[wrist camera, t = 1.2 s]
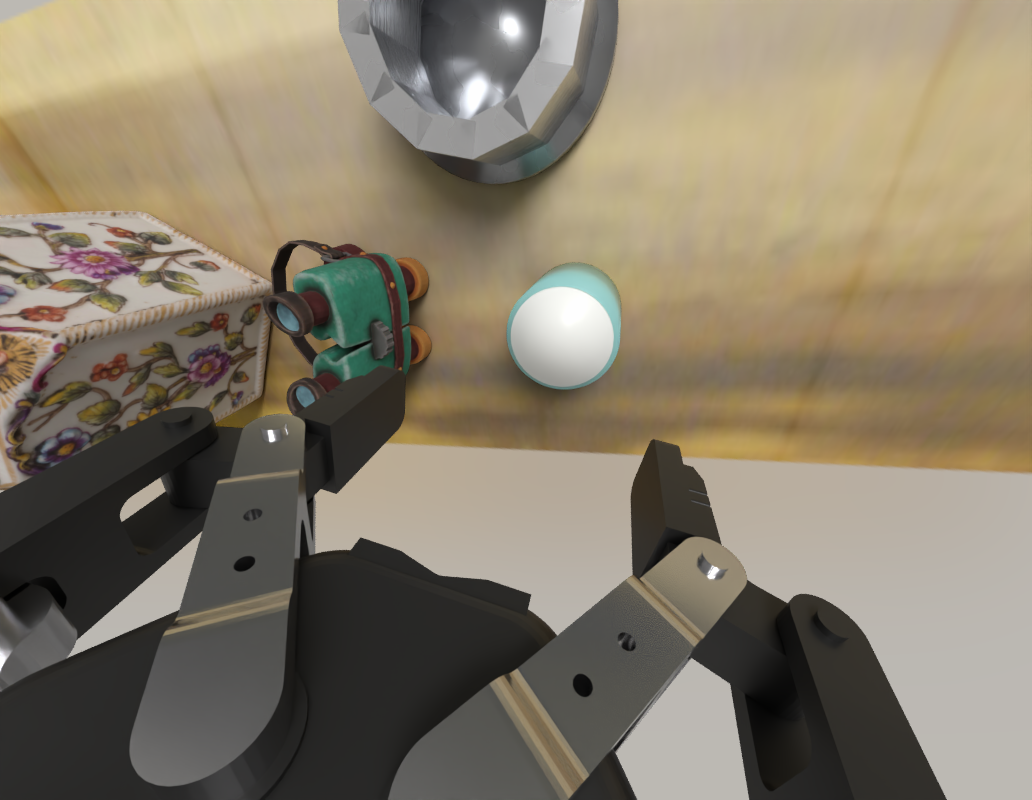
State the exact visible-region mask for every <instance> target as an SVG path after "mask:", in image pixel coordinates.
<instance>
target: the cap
mask: <svg viewBox="0 0 1032 800" xmlns="http://www.w3.org/2000/svg"><path fill="white" fill-rule="evenodd" d="M620 328H621V300H620V295H619V292H618V290H617V288H616V286H615V284H614V283H613V281H612V280H611V279H610V278H609V276H608V275H606V274H605V273H604V272H603V271H601V270H600V269H598V268H596V267H594V266H592V265H589V264H585V263H566V264H562V265H559V266H557V267H554V268H553V269H551V270H549V271H548V272H547V273H545V274H544V275H543V276H542V277H541V278H540V279H539V280H538V281H537V282H536V283H535V284H534V285H533V286H532V287H531V288H530V289H529V290H528V291H527V292H526V293H525V294H524V295H523V296H522V297H521V298H520V299H519V300H518V301H517V303H516V304H515V306H514V307H513V309H512V311H511V314H510V316H509V319H508V324H507V342H508V347H509V350H510V353H511V355H512V358H513V359H514V361H515V363H516V364H517V366H518V367H519V368H520V370H521V371H522V372H523V373H524V374H525V375H527V376H528V377H529V378H531V379H532V380H534V381H535V382H537V383H539V384H541V385H544V386H547V387H550V388H555V389H575V388H580V387H583V386H586V385H588V384H590V383H592V382H594V381H596V380H597V379H598V378H600V377H601V376H602V375H603V374H604V373H605V372H606V371H607V370H608V369H609V368H610V366H611V365H612V363H613V361H614V360H615V357H616V355H617V352H618V348H619V343H620Z"/></svg>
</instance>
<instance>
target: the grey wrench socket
mask: <svg viewBox="0 0 1032 800" xmlns="http://www.w3.org/2000/svg"><path fill="white" fill-rule="evenodd" d="M338 14H339V31H340V33H341V36H342V38H343V40H344V43H345V45H346V48H347V50H348V53H349V55H350V57H351V60H352V62H353V65H354V67H355V70H356V72H357V74H358V77H359V79H360V82H361V84H362V86H363V89H364V91H365V94H366V96H367V99H368V101H369V103H370V105H371V106H372V107H373V108H374V109H376V110H377V111H378V112H379V113H380V114H381V115H382V116H383V117H384V118H385V119H386V120H387V121H388V122H389V123H390V124H391V125H392V126H393V127H394V128H396V129H397V130H398V131H399V132H400V133H401V134H402V135H403V136H404V137H405V138H406V139H407V140H408V141H409V142H410V143H411V144H412V145H413V146H415V147H416V148H417V149H420V150H422V151H423V152H424V153H425V154H426V155H427V156H428V157H429V158H430V159H431V160H432V161H434V162H435V163H436V164H437V165H438V166H440V167H442V168H443V169H445V170H446V171H448V172H450V173H452V174H454V175H456V176H458V177H460V178H463V179H466V180H470V181H473V182H479V183H487V184H507V183H512V182H517V181H521V180H524V179H527V178H529V177H532V176H534V175H536V174H538V173H540V172H542V171H544V170H546V169H547V168H548V167H550V166H551V165H553V164H554V163H555V162H557V161H558V160H559V159H560V158H561V157H562V156H563V155H564V154H566V153H567V152H568V151H569V150H570V149H571V148H572V146H573V145H574V144H575V143H576V142H577V140H578V139H579V138H580V137H581V135H582V134H583V132H584V131H585V129H586V128H587V126H588V125H589V123H590V122H591V120H592V118H593V116H594V114H595V112H596V110H597V109H598V107H599V105H600V102H601V100H602V97H603V95H604V92H605V90H606V87H607V84H608V81H609V77H610V74H611V70H612V66H613V62H614V56H615V50H616V45H617V33H618V0H338Z"/></svg>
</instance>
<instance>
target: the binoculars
mask: <svg viewBox="0 0 1032 800" xmlns="http://www.w3.org/2000/svg"><path fill="white" fill-rule="evenodd" d="M298 245H304V246H306V247H308V248H310V249H312V250H314V251H316V252H318V253H319V254H320V255H322V257H321V259H322V260H323V261H324V265H322V266H318V267H315V268H311V269H308V270H304V271H302V272H300V273H298V274H296V275H295V277H294V279H293V288H294V292H292V291H287V289H286V269H285V268H286V266H287V263H288V261H289V258H290V256H291V253H292V251H293V249H294V248H295V247H297V246H298ZM271 277H272V291H273V295H269V296H266V297H265V298H264V299H263V308H264V310H265V313H266V314H267V316H268V317H269V319H270V320H271V321H272V322H273V323H274V325H275V326H276V327H277V328H279V329H280V330H281V331H283V332H284V333H286V334H288V335H289V337H290V338H291V340H292V342H293V344H294V346H295V347H296V348H297V349H298V351H299V352H300V353H301V354H302V356H303V357H304V358H305V359H306V360H307V362H308V363H309V364H310V365H312V366H313V377H314V378H313V379H311V378H302V379H300V380H298V381H296V382H294V383H292V384H291V385H290V387H289V389H288V392H287V404H288V407H289V409H290V411H291V413H292V414H293V415H295V414H297V413H298V412H300V411H301V410H303V409H304V408H305V407H307V406H308V405H310V404H311V403H313V402H314V401H316V400H317V399H319V398H320V397H322V396H325V395H326V393H328V392H329V391H331V390H332V389H335V387H337V386H338V385H340V384H341V383H343V382H344V381H346V380H348V379H351V378H354V377H358V376H361V375H363V376H365V375H366V374H368V373H369V372H371V371H372V370H373V369H375V368H376V367H378V366H380V365H383V366H386V367H390V368H394V369H398V370H401V371H403V372H404V373H405V376H406V374H407V372H408V370H409V366H410V364H416V363H418V362H419V361H421V360H422V359H424V358H425V357H427V356H428V354H429V353H430V351H431V341H430V338H429V336H428V335H427V334H426V332H425V331H423V330H422V329H421V328H419V327H417V326H413V325H407V326H404V325H406V324H407V323H409V304H408V301H411V300H414V299H417V298H419V297H421V296H422V295H424V293H425V292H426V290H427V288H428V284H429V281H428V275H427V272H426V270H425V268H424V267H423V266H422V265H421V264H420V263H419V262H418V261H416V260H415V259H412V258H400V259H396V260H395V259H394V258H393V257H391V256H389V255H387V254H381V253H369V254H366V253H365V252H364V251H363V250H362V249H360V248H359V247H357V246H355V245H352V244H345V245H341V246H337V247H334V248H331V247H330V246H328V245H326V244H319V243H317V242H313V241H306V240H298V241H289V242H287V243H286V244H285V245H284V246H282V247H281V248H280V249H278V252H277V255H276V257H275V260H274V263H273V265H272V268H271ZM308 333H311V334H312V335H313V336H314V337H315V338H316V339H319V340H326V339H329V338H332V339H333V340H334V341H335V342H336V343H337V344H336V345H334V346H332V347H330V348H328V349H326V350H324V351H323V352H321V353H320V354H317V353H316V352H315V351H314V349H313V348H312V347H311V346H310V344H309V343H308V342H307V341H306V339H305V337H304V335H306V334H308Z"/></svg>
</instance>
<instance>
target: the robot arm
mask: <svg viewBox="0 0 1032 800" xmlns="http://www.w3.org/2000/svg"><path fill="white" fill-rule="evenodd" d="M405 382H406V378H405V373H404V372H403V371H401V370H398V369H394V368H390V367H386V366H383V365H380V366H378V367H376V368H375V369H373V370H372V371H371V372H369V373H368V374H366V375H365V376H363V375H361V376H358V377H354V378H351V379H348V380H346V381H344V382H343V383H341V384H340V385H338V386H337V387H335V389H332V390H331V391H329V392H328V393H326V395H325V396H322V397H320V398H319V399H317V400H316V401H314V402H313V403H311V404H310V405H308V406H307V407H305V408H304V409H303V410H301V411H300V412H298V413H297V414H295V415H294V416H293V415H288V414H274V415H268V416H264V417H260V418H258V419H255V420H253V421H251V422H250V423H248V424H247V425H246V426H245V427H244V428H234V427H219V426H216V424H215V421H214V417H213V414H212V413H211V412H210V411H209V410H207V409H204V408H200V407H179V408H173V409H168V410H165V411H162V412H159V413H156V414H154V415H152V416H150V417H148V418H146V419H144V420H142V421H140V422H138V423H136V424H134V425H133V426H131V427H129V428H127V429H125V430H123V431H121V432H119V433H117V434H115V435H113V436H111V437H109V438H107V439H105V440H103V441H101V442H99V443H97V444H95V445H93V446H91V447H89V448H87V449H86V450H84V451H82V452H80V453H78V454H76V455H74V456H72V457H70V458H68V459H66V460H64V461H62V462H60V463H58V464H56V465H54V466H52V467H50V468H48V469H46V470H44V471H42V472H40V473H39V474H37V475H35V476H33V477H31V478H29V479H27V480H25V481H23V482H21V483H19V484H17V485H15V486H13V487H11V488H9V489H7V490H5V491H3V492H1V493H0V800H637V798H636V796H635V794H634V792H633V790H632V788H631V785H630V783H629V781H628V779H627V777H626V775H625V772H624V770H623V768H622V766H621V764H620V762H619V759H618V757H617V755H616V752H617V751H618V749H619V748H620V747H621V746H622V744H623V743H624V742H625V741H626V739H627V738H628V737H629V736H630V734H631V733H632V732H633V730H634V729H635V728H636V727H637V725H638V724H639V723H640V722H641V720H642V719H643V718H644V716H645V715H646V714H647V713H648V711H649V710H650V709H651V708H652V706H653V705H654V704H655V703H656V701H657V700H658V699H659V698H660V696H661V695H662V694H663V693H664V691H665V690H666V689H667V688H668V686H669V685H670V684H671V683H672V681H673V680H674V679H675V678H676V676H677V675H678V674H679V673H680V671H681V670H682V669H683V668H684V667H685V665H686V664H687V663H688V661H689V660H690V659H691V658H693V659H694V660H696V661H697V662H699V663H700V664H702V665H703V666H704V667H706V668H708V669H709V670H710V671H712V672H713V673H715V674H716V675H718V676H720V677H721V678H722V679H724V680H726V681H727V682H729V683H730V685H731V690H732V697H733V703H734V709H735V715H736V721H737V728H738V734H739V740H740V746H741V751H742V757H743V764H744V770H745V776H746V782H747V788H748V794H749V800H947V799H946V797H945V795H944V793H943V791H942V789H941V787H940V785H939V783H938V782H937V779H936V777H935V775H934V773H933V771H932V769H931V767H930V765H929V763H928V761H927V759H926V757H925V755H924V753H923V750H922V749H921V746H920V745H919V743H918V740H917V738H916V737H915V734H914V732H913V730H912V728H911V726H910V725H909V722H908V720H907V718H906V716H905V714H904V712H903V710H902V708H901V706H900V704H899V702H898V700H897V698H896V696H895V694H894V692H893V690H892V688H891V686H890V684H889V682H888V680H887V678H886V675H885V673H884V672H883V669H882V667H881V665H880V663H879V661H878V659H877V657H876V655H875V653H874V651H873V649H872V647H871V645H870V643H869V641H868V639H867V638H866V636H865V634H864V633H863V632H862V630H861V629H860V628H859V627H858V625H857V624H856V623H855V622H854V621H853V620H852V619H851V618H850V617H849V616H848V615H846V614H845V613H844V612H843V611H841V610H840V609H839V608H837V607H836V606H834V605H833V604H831V603H830V602H827V601H826V600H824V599H822V598H819V597H816V596H813V595H809V594H799V595H796V596H794V597H793V598H792V599H791V600H790V601H789V603H786V602H784V601H782V600H781V599H779V598H777V597H775V596H773V595H772V594H770V593H768V592H766V591H764V590H763V589H761V588H759V587H757V586H756V585H754V584H752V583H751V582H750V581H748V580H747V575H746V572H745V569H744V567H743V566H742V564H741V563H740V561H739V560H738V559H737V557H735V555H734V554H733V553H731V552H730V551H729V550H728V549H727V548H725V547H724V546H722V544H721V541H720V537H719V534H718V530H717V527H716V523H715V519H714V516H713V512H712V509H711V507H710V502H709V498H708V496H707V491H706V487H705V484H704V480H703V479H702V478H701V477H700V475H699V474H698V473H697V472H696V470H695V469H694V468H693V467H691V466H687V465H684V464H683V461H682V456H681V452H680V448H679V446H677V445H673V444H670V443H666V442H662V441H659V440H655V439H653V440H651V442H650V444H649V446H648V448H647V450H646V453H645V455H644V458H643V460H642V462H641V465H640V467H639V469H638V472H637V474H636V477H635V479H634V482H633V486H632V492H631V527H632V567H633V575H632V576H630V577H629V578H627V579H626V580H625V581H623V582H622V583H621V584H620V585H619V586H617V587H616V588H615V589H614V590H612V591H611V592H610V593H609V594H608V595H606V596H605V597H604V598H603V599H601V600H600V601H599V602H598V603H597V604H595V605H594V606H593V607H592V608H591V609H589V610H588V611H587V612H586V613H584V614H583V615H582V616H581V617H580V618H578V619H577V620H576V621H575V622H573V623H572V624H571V625H570V626H569V627H567V628H566V629H565V630H564V631H563V632H561V633H560V634H559V635H558V636H557V635H556V634H555V632H554V631H553V630H552V629H551V628H550V627H549V626H548V625H547V624H546V623H545V622H544V621H543V620H542V619H540V618H539V617H538V616H536V615H535V614H534V613H533V612H531V611H530V610H528V606H529V602H530V597H531V594H528V593H525V592H522V591H519V590H516V589H513V588H510V587H507V586H504V585H501V584H498V583H495V582H492V581H489V580H482V579H471V578H459V577H448V576H439V575H437V574H435V573H433V572H432V571H430V570H429V569H427V568H426V567H424V566H423V565H421V564H420V563H418V562H417V561H415V560H414V559H412V558H411V557H409V556H407V555H406V554H405V553H403V552H402V551H400V550H396V549H393V548H391V547H388V546H385V545H382V544H379V543H376V542H372V541H370V540H367V539H363V538H360V539H359V540H358V542H357V543H356V544H355V545H354V547H353V548H352V549H351V550H335V551H327V552H321V553H317V554H315V494H316V493H317V492H318V491H319V490H320V489H323V490H326V491H329V492H332V493H335V494H337V493H338V492H339V491H340V490H341V489H342V488H343V487H344V486H345V485H346V483H347V482H348V481H349V480H350V479H351V478H352V477H353V476H354V475H355V474H356V473H357V472H358V471H359V470H360V469H361V468H362V467H363V466H364V465H365V463H367V461H368V460H369V459H370V458H371V457H372V456H373V455H374V454H375V453H376V452H377V451H378V450H379V449H380V448H381V447H382V446H383V445H384V444H385V443H386V442H387V441H388V440H389V438H390V437H391V436H392V435H393V434H394V433H395V432H396V431H397V430H398V429H399V427H400V426H401V424H402V422H403V419H404V414H405ZM158 478H161V480H162V482H163V485H164V488H165V490H166V492H164V493H163V494H162V495H160V496H159V497H157V498H156V499H154V500H153V501H152V502H150V503H149V504H147V505H146V506H144V507H143V508H142V509H140V510H139V511H137V512H136V513H134V514H133V515H132V516H130V517H129V518H127V519H126V520H125V521H123V522H121V520H120V511H121V508H122V507H123V505H124V503H125V502H126V501H127V500H128V499H129V498H130V497H131V496H133V495H134V494H136V493H137V492H139V491H140V490H142V489H143V488H145V487H146V486H148V485H149V484H151V483H152V482H154V481H155V480H157V479H158ZM200 532H202V534H201V538H200V541H199V544H198V548H197V551H196V555H195V558H194V562H193V565H192V568H191V572H190V575H189V579H188V582H187V586H186V589H185V592H184V596H183V599H182V603H181V606H180V610H178V611H176V612H174V613H171V614H169V615H166V616H164V617H162V618H160V619H157V620H155V621H153V622H150V623H148V624H145V625H143V626H141V627H139V628H136V629H134V630H132V631H129V632H127V633H124V634H122V635H120V636H118V637H115V638H113V639H111V640H108V641H106V642H104V643H101V644H99V645H97V646H94V647H92V648H90V649H87V650H85V651H83V652H80V653H78V654H76V655H73V656H71V657H69V658H67V657H68V655H69V654H70V653H71V651H72V649H73V648H74V645H75V643H76V640H77V639H78V638H80V637H81V636H82V635H83V634H84V633H85V632H87V631H88V630H89V629H90V628H91V627H92V626H93V625H94V624H96V623H97V622H98V621H99V620H100V619H102V618H103V617H104V616H105V615H106V614H107V613H108V612H109V611H111V610H112V609H113V608H114V607H115V606H116V605H118V604H119V603H120V602H121V601H122V600H123V599H125V598H126V597H127V596H128V595H129V594H130V593H131V592H132V591H134V590H135V589H136V588H137V587H138V586H139V585H140V584H142V583H143V582H144V581H145V580H146V579H147V578H149V577H150V576H151V575H152V574H153V573H154V572H155V571H157V570H158V569H159V568H160V567H161V566H162V565H164V564H165V563H166V562H167V561H168V560H169V559H171V557H173V556H174V555H175V554H176V553H177V552H179V551H180V550H181V549H182V548H183V547H184V546H185V545H187V544H188V543H189V542H190V541H191V540H192V539H194V538H195V537H196V536H197V535H198V534H199V533H200Z"/></svg>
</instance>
